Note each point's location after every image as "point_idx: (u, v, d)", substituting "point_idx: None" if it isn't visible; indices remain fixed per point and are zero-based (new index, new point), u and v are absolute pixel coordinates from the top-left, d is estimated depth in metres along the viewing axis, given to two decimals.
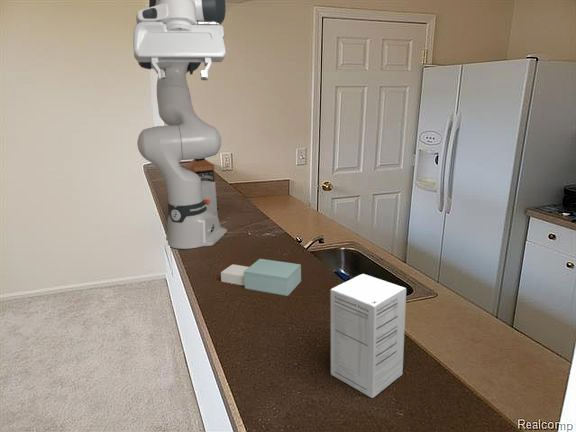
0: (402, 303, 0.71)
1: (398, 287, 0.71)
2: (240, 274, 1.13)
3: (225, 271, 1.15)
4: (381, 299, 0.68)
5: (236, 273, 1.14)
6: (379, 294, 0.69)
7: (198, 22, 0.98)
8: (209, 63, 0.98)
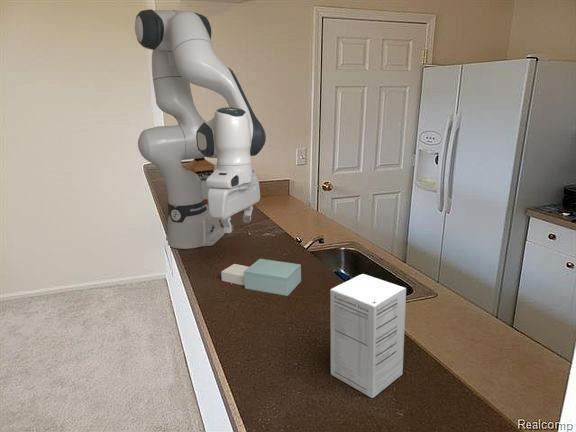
0: (402, 303, 0.71)
1: (398, 287, 0.71)
2: (240, 274, 1.13)
3: (226, 270, 1.15)
4: (381, 299, 0.68)
5: (236, 273, 1.14)
6: (379, 294, 0.69)
7: None
8: (252, 209, 1.16)
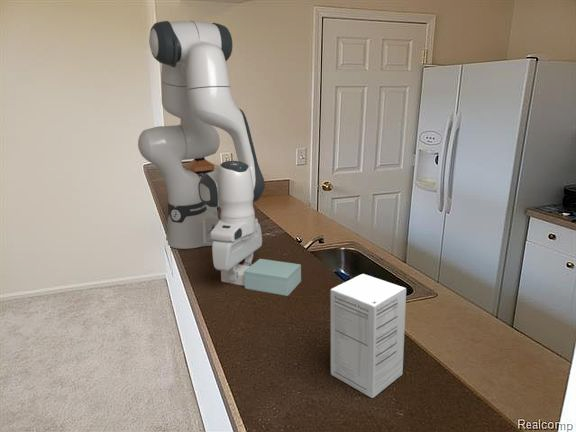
0: (402, 303, 0.71)
1: (398, 287, 0.71)
2: (240, 273, 1.12)
3: None
4: (381, 299, 0.68)
5: None
6: (379, 294, 0.69)
7: None
8: (252, 256, 1.19)
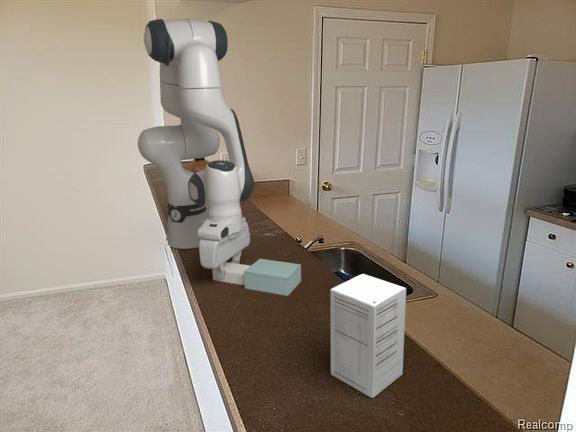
0: (402, 303, 0.71)
1: (398, 287, 0.71)
2: (232, 271, 1.14)
3: None
4: (381, 299, 0.68)
5: (228, 270, 1.15)
6: (379, 294, 0.69)
7: None
8: (240, 254, 1.20)
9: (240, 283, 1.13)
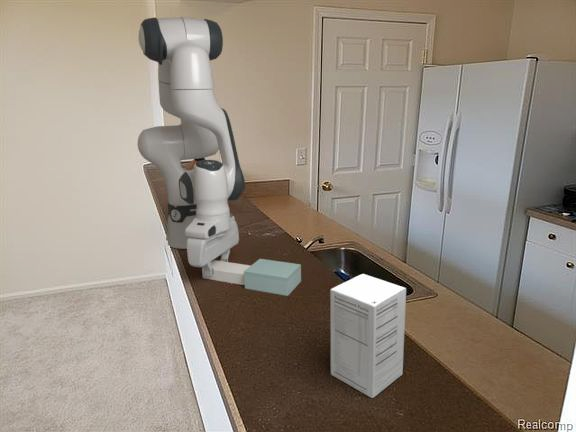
0: (402, 303, 0.71)
1: (398, 287, 0.71)
2: (221, 270, 1.15)
3: None
4: (381, 299, 0.68)
5: (217, 268, 1.16)
6: (379, 294, 0.69)
7: None
8: (229, 252, 1.21)
9: (229, 281, 1.14)
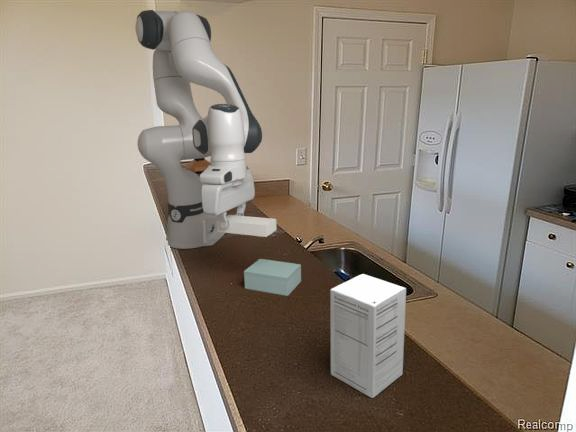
0: (402, 303, 0.71)
1: (398, 287, 0.71)
2: (237, 221, 1.08)
3: None
4: (381, 299, 0.68)
5: (233, 220, 1.09)
6: (379, 294, 0.69)
7: None
8: (244, 206, 1.15)
9: (246, 233, 1.07)
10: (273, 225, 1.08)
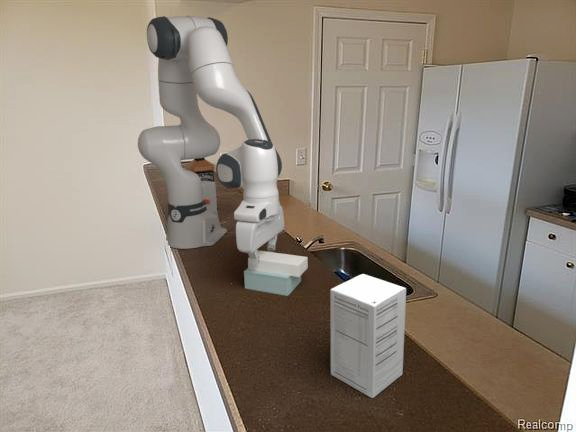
0: (402, 303, 0.71)
1: (398, 287, 0.71)
2: (269, 260, 1.08)
3: None
4: (381, 299, 0.68)
5: (264, 259, 1.09)
6: (379, 294, 0.69)
7: None
8: (276, 238, 1.15)
9: (278, 272, 1.07)
10: (305, 264, 1.08)
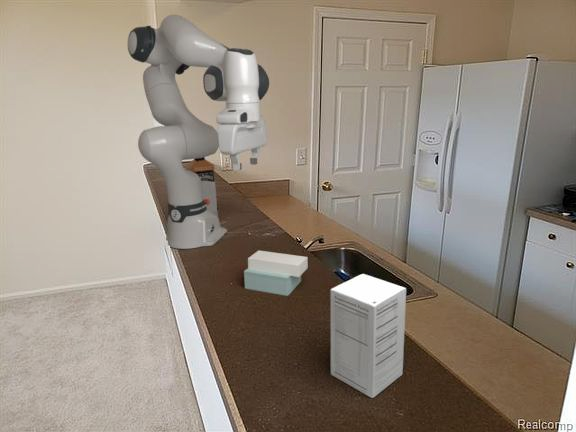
0: (402, 303, 0.71)
1: (398, 287, 0.71)
2: (269, 260, 1.08)
3: (252, 257, 1.10)
4: (381, 299, 0.68)
5: (264, 259, 1.09)
6: (379, 294, 0.69)
7: None
8: (259, 151, 1.20)
9: (278, 272, 1.07)
10: (305, 264, 1.08)
